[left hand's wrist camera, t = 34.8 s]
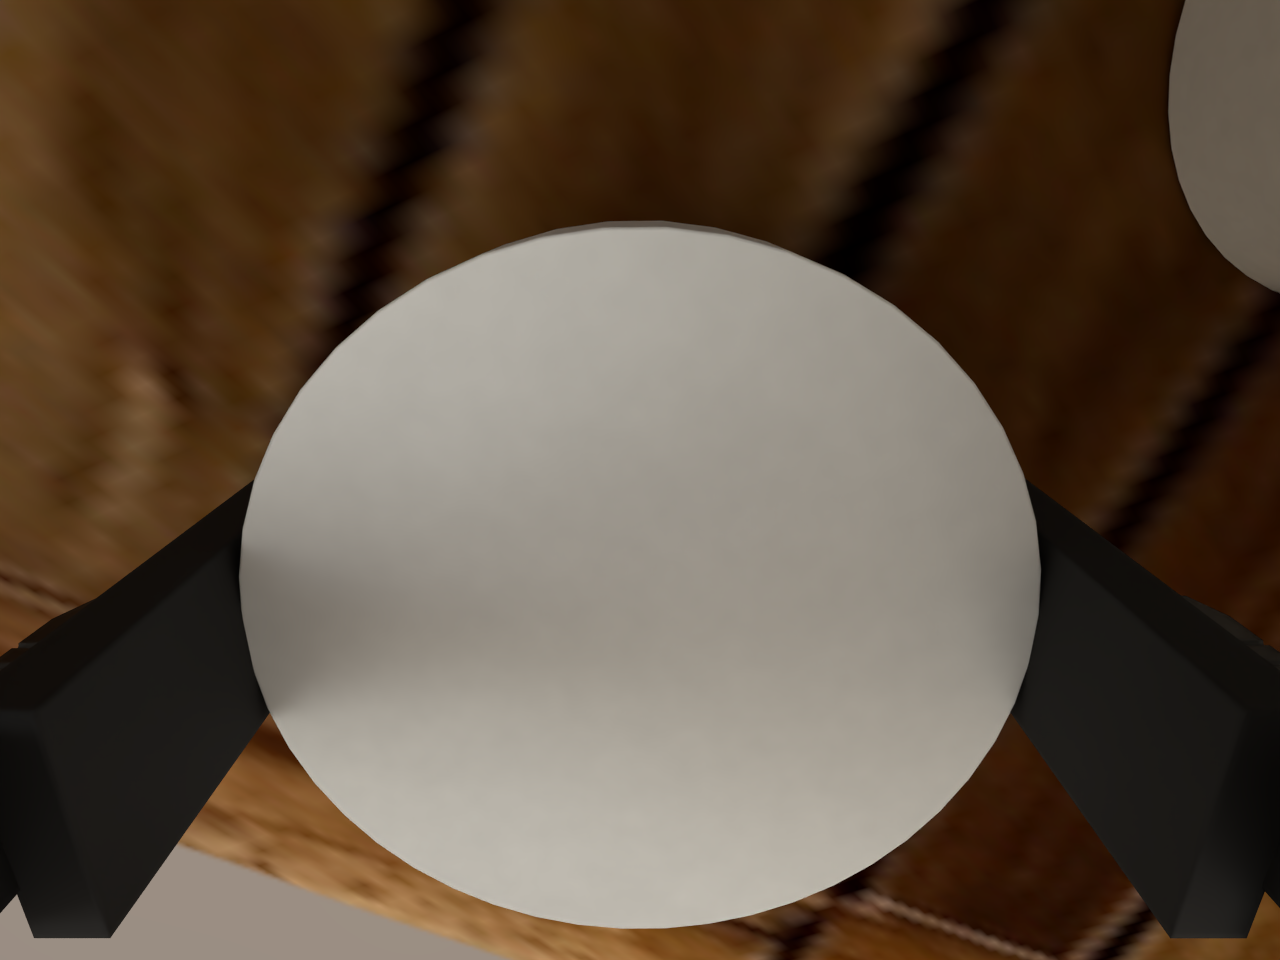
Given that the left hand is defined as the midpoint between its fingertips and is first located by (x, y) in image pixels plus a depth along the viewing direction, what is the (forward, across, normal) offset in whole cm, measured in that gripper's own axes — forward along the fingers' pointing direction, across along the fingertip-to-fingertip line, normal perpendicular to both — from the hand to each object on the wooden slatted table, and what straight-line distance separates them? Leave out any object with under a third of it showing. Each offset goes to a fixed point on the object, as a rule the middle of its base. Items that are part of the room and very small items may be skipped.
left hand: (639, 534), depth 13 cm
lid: (-3, 0, 0) cm, 3 cm away
